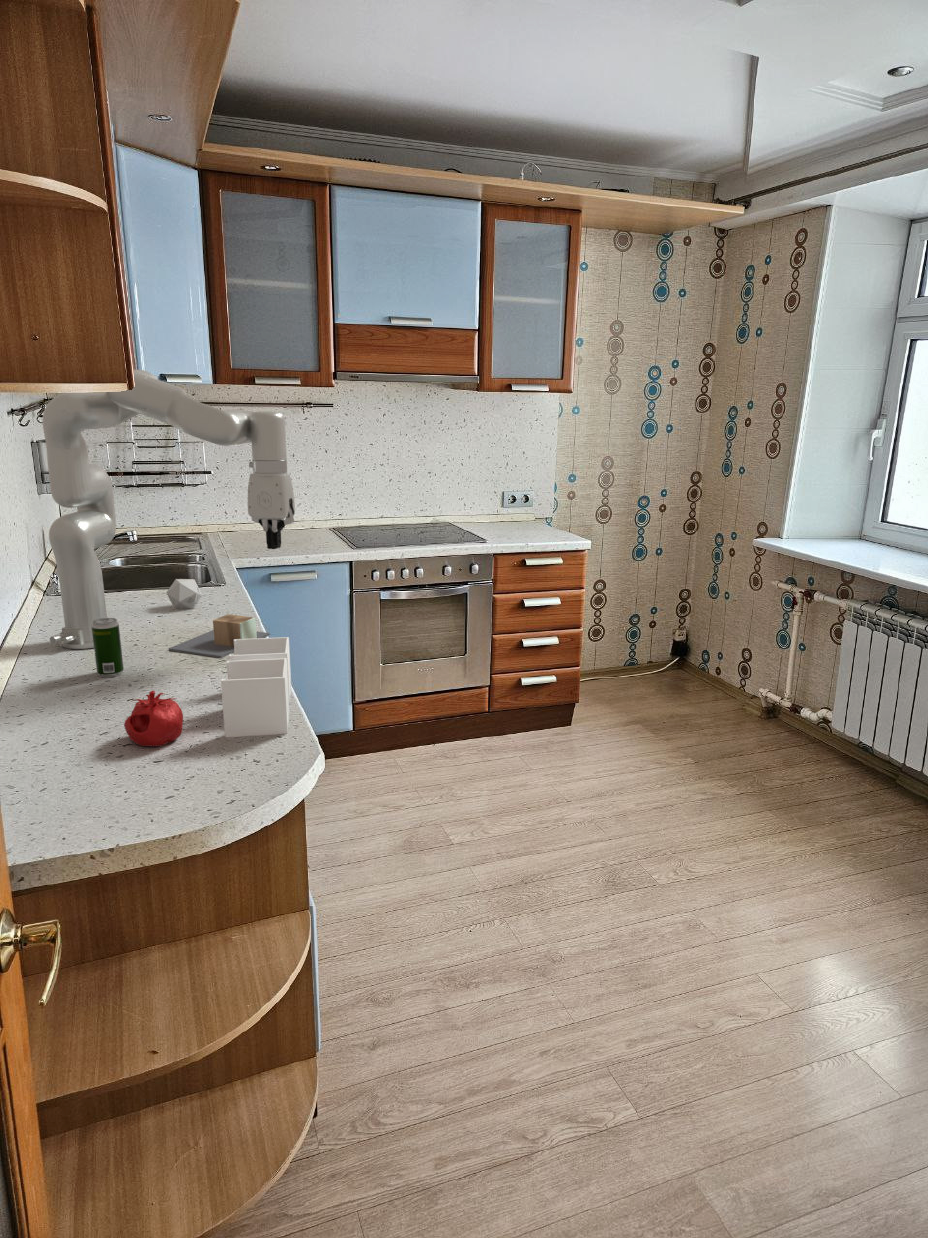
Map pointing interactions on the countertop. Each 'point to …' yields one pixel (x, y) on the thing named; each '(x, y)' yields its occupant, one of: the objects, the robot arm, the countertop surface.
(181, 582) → the die
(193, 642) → the mat
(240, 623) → the block
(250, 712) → the storage container
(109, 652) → the beer can
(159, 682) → the countertop surface
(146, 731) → the pomegranate
